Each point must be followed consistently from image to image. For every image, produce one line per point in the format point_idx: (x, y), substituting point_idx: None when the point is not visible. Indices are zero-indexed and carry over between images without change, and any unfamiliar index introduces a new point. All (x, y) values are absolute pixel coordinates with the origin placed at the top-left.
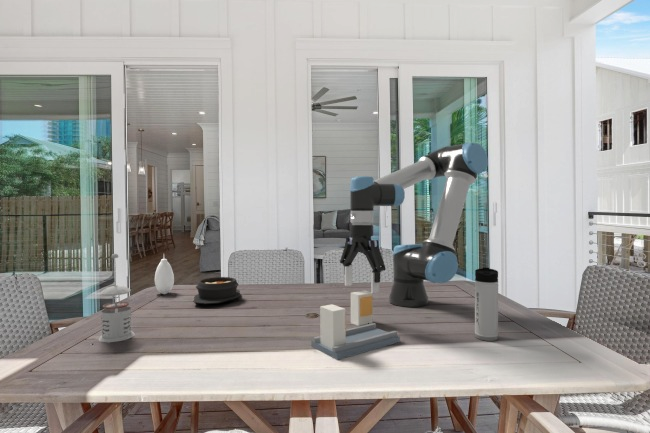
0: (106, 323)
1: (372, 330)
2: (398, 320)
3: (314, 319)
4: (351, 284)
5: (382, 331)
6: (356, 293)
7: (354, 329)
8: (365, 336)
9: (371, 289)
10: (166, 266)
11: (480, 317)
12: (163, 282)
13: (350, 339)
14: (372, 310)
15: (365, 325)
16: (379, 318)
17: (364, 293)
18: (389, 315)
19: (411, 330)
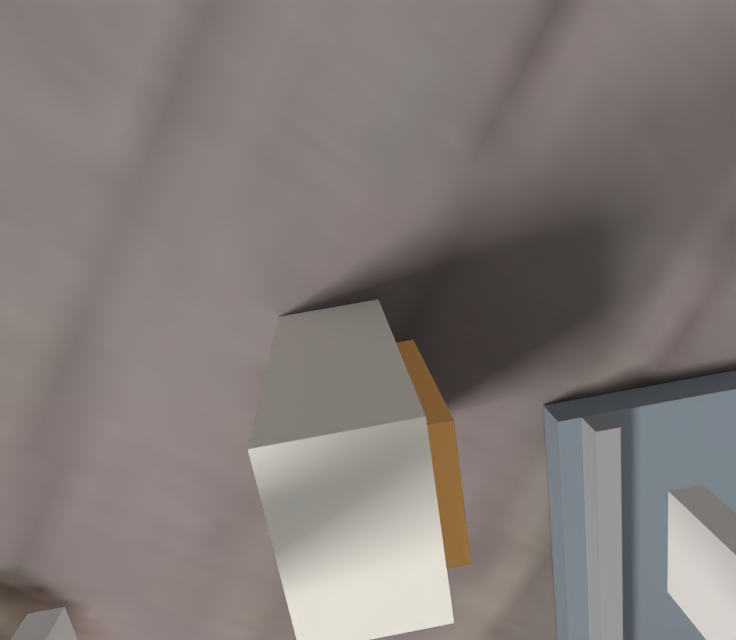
0: None
1: (636, 461)
2: (436, 52)
3: (119, 628)
4: (66, 629)
5: (692, 414)
6: (373, 612)
7: (620, 592)
8: None
9: (708, 630)
10: None
11: None
12: None
13: (681, 631)
14: (390, 331)
15: (605, 507)
16: (301, 180)
17: (423, 532)
18: (253, 24)
19: (700, 133)
